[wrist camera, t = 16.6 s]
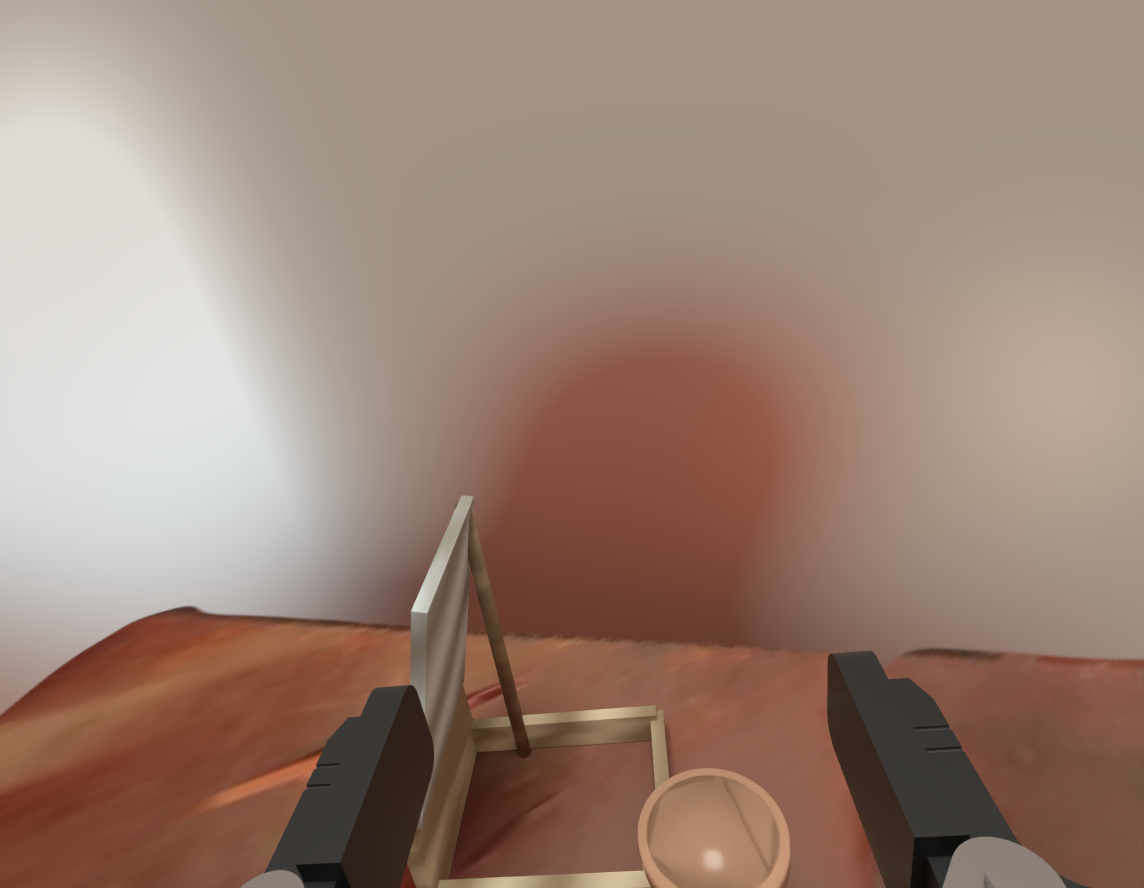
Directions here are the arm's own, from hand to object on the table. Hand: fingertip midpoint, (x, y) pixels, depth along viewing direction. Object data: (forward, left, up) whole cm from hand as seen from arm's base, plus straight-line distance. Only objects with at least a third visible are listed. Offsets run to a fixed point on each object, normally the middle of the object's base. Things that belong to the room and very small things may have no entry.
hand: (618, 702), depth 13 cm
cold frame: (-8, +22, -32) cm, 40 cm away
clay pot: (+2, +11, -31) cm, 33 cm away
